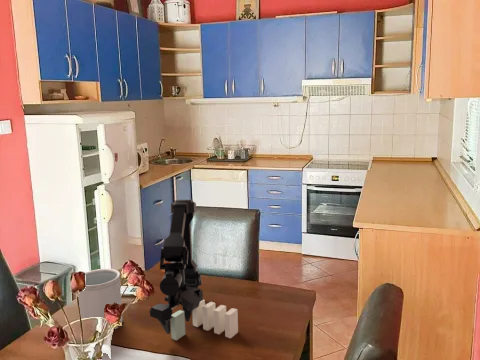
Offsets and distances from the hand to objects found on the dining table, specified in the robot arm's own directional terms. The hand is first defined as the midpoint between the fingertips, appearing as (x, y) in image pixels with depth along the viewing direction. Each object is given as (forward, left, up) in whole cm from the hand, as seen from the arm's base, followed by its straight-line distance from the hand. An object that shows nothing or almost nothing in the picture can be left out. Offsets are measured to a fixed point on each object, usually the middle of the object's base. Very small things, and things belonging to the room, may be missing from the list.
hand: (178, 327), depth 140 cm
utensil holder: (-28, -8, -3) cm, 29 cm away
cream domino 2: (+5, +10, -3) cm, 12 cm away
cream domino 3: (+10, +10, -3) cm, 14 cm away
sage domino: (0, 0, -3) cm, 3 cm away
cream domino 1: (+1, +10, -3) cm, 11 cm away
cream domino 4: (+14, +10, -3) cm, 17 cm away
